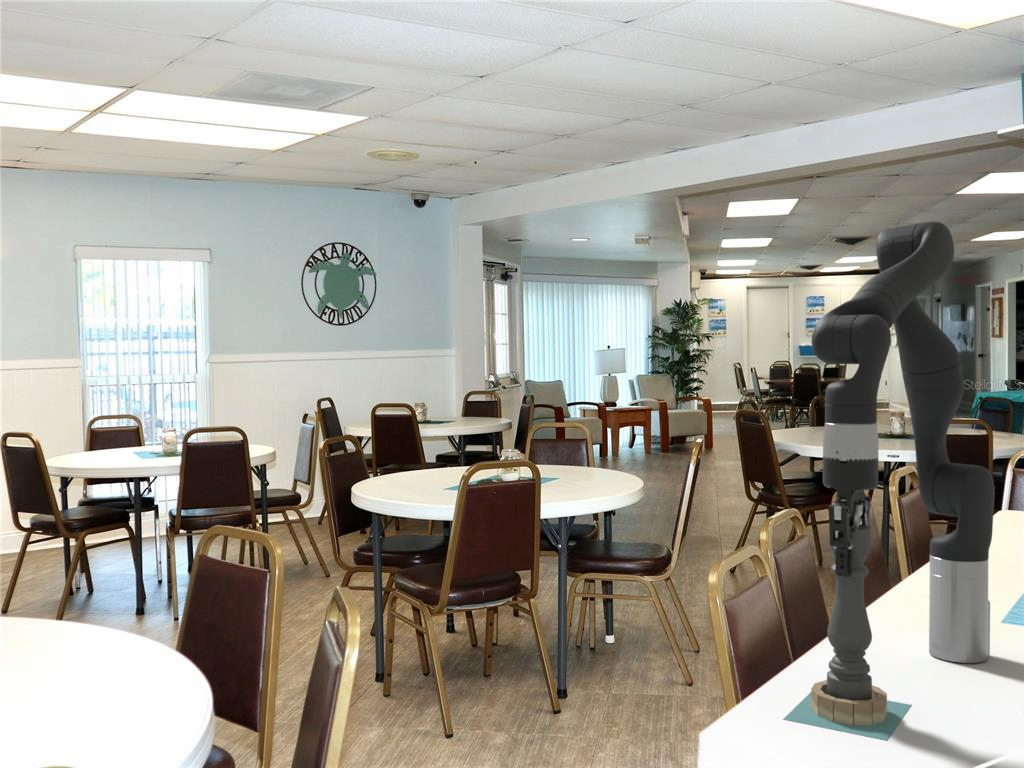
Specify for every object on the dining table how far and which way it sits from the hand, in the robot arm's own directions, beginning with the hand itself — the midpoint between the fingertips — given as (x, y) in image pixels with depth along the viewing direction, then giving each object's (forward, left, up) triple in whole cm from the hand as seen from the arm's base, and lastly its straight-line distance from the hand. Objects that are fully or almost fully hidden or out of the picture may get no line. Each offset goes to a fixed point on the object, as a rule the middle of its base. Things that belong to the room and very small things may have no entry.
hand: (849, 571), depth 138 cm
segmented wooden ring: (0, 0, -20) cm, 20 cm away
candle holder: (0, 0, -19) cm, 19 cm away
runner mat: (0, 0, -21) cm, 21 cm away
